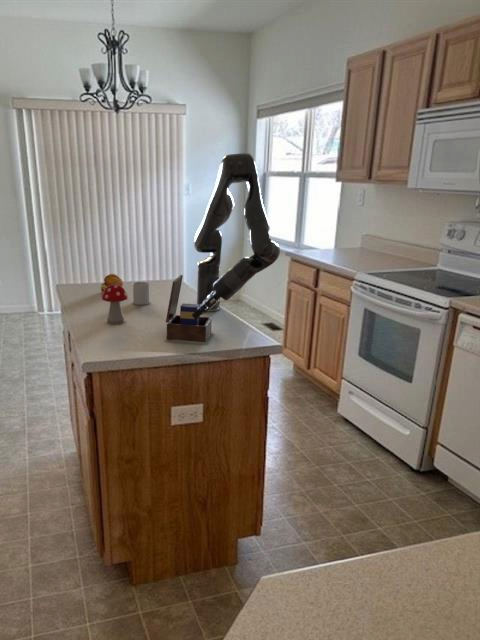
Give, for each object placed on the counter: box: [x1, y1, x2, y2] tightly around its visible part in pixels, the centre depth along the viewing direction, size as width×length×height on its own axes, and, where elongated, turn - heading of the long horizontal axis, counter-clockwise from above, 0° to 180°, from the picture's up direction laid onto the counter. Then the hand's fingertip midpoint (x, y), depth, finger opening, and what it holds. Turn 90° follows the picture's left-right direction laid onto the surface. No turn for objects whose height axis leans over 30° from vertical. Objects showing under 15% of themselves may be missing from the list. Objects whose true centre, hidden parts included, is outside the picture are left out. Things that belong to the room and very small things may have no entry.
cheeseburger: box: [99, 273, 124, 293], centre depth 256 cm, size 10×11×10 cm
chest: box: [166, 314, 213, 343], centre depth 190 cm, size 14×13×6 cm
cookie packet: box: [179, 302, 199, 326], centre depth 189 cm, size 6×5×11 cm
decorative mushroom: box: [101, 284, 129, 325], centre depth 206 cm, size 10×9×15 cm
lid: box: [165, 274, 184, 324], centre depth 187 cm, size 15×13×1 cm
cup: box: [132, 281, 150, 306], centre depth 238 cm, size 7×10×9 cm
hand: (196, 314), depth 188 cm, fingers open, 8 cm apart
